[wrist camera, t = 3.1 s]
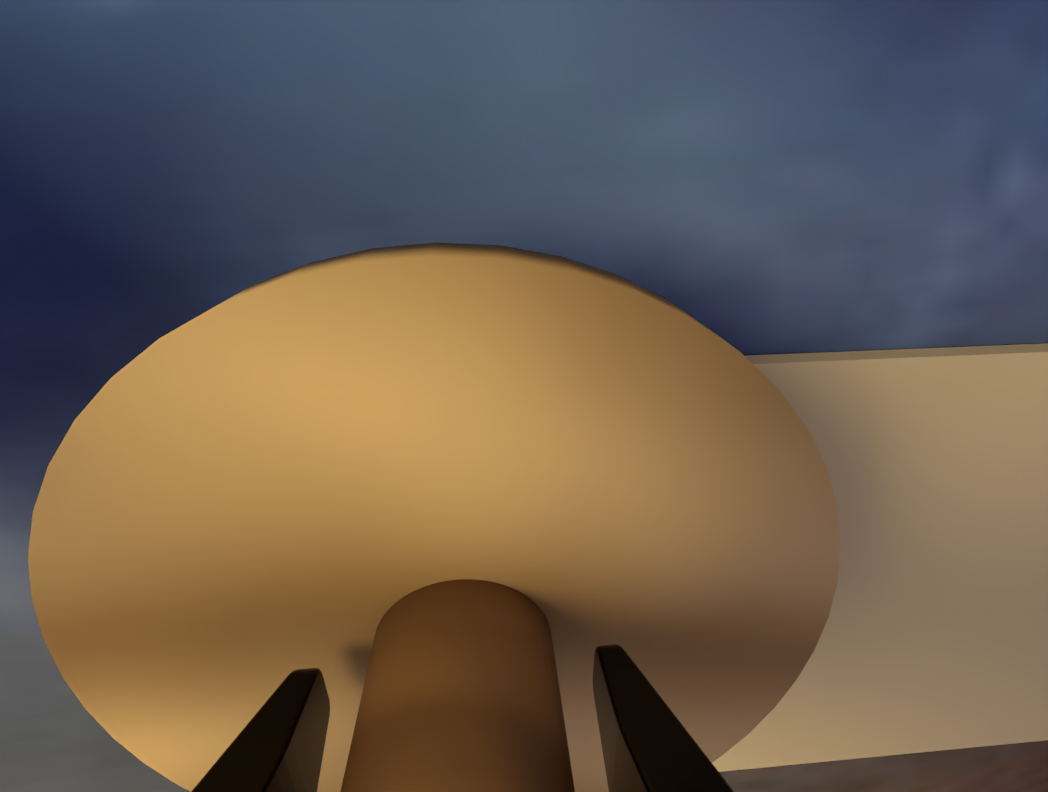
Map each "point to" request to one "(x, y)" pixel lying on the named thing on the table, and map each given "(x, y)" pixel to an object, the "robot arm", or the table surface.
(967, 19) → the table surface
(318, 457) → the lid
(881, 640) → the mat
